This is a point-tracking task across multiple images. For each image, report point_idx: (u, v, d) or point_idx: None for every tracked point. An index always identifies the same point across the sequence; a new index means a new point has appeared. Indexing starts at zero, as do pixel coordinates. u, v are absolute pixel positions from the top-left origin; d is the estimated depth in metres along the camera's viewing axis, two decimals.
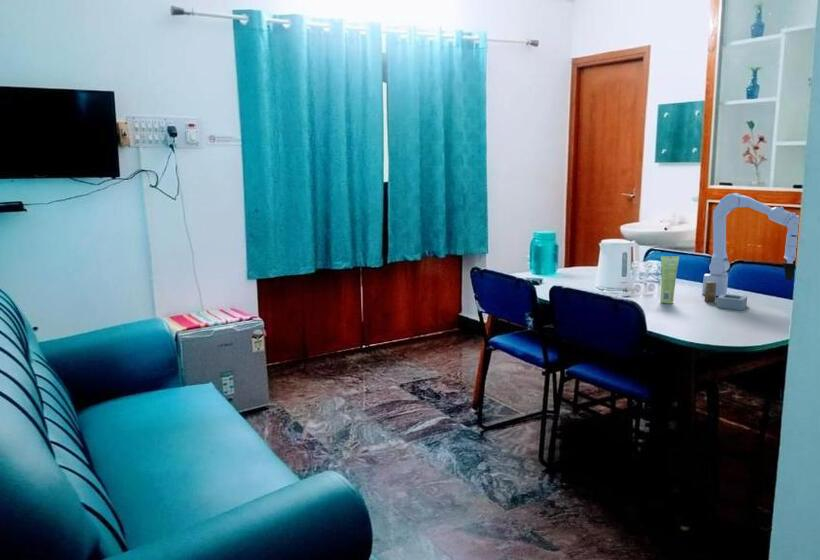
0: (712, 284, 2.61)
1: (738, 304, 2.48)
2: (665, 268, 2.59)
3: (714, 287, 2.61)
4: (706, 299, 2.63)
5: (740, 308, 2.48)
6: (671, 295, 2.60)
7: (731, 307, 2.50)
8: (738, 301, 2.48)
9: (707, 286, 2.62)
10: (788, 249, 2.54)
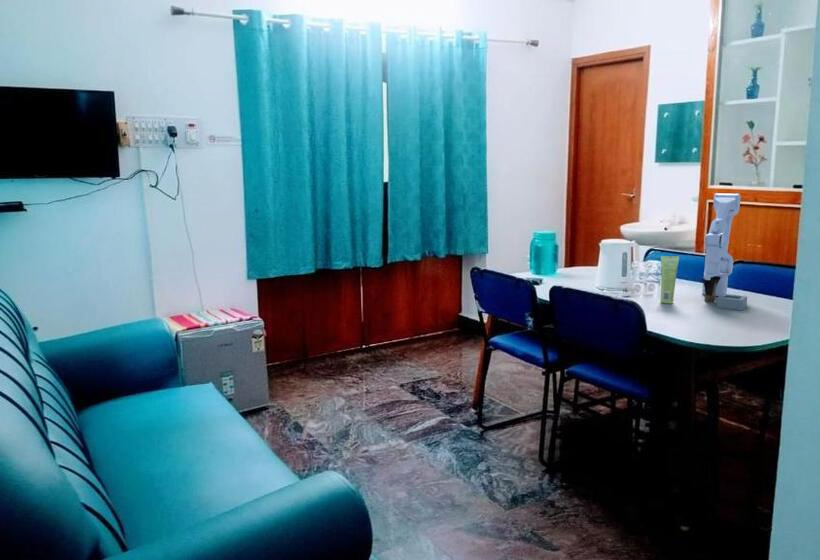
0: None
1: (738, 304, 2.48)
2: (665, 268, 2.59)
3: (714, 287, 2.61)
4: (706, 299, 2.63)
5: (740, 308, 2.48)
6: (671, 295, 2.60)
7: (731, 307, 2.50)
8: (738, 301, 2.48)
9: None
10: (707, 265, 2.60)
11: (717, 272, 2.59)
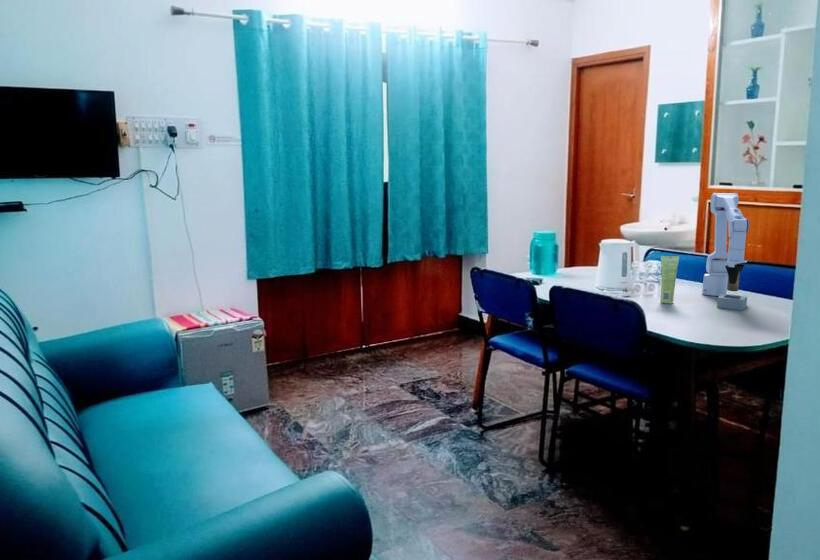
0: None
1: (738, 304, 2.48)
2: (665, 268, 2.59)
3: None
4: (729, 288, 2.52)
5: (740, 308, 2.48)
6: (671, 295, 2.60)
7: (731, 307, 2.50)
8: (738, 301, 2.48)
9: None
10: (730, 252, 2.49)
11: (741, 259, 2.48)
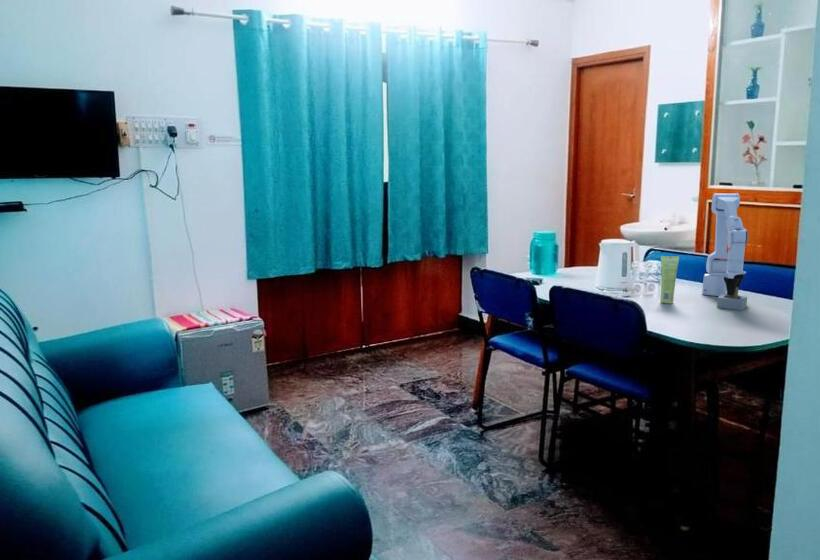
0: None
1: (738, 304, 2.48)
2: (665, 268, 2.59)
3: (736, 292, 2.51)
4: None
5: (740, 308, 2.48)
6: (671, 295, 2.60)
7: (731, 307, 2.50)
8: (738, 301, 2.48)
9: None
10: (730, 263, 2.50)
11: (740, 270, 2.49)
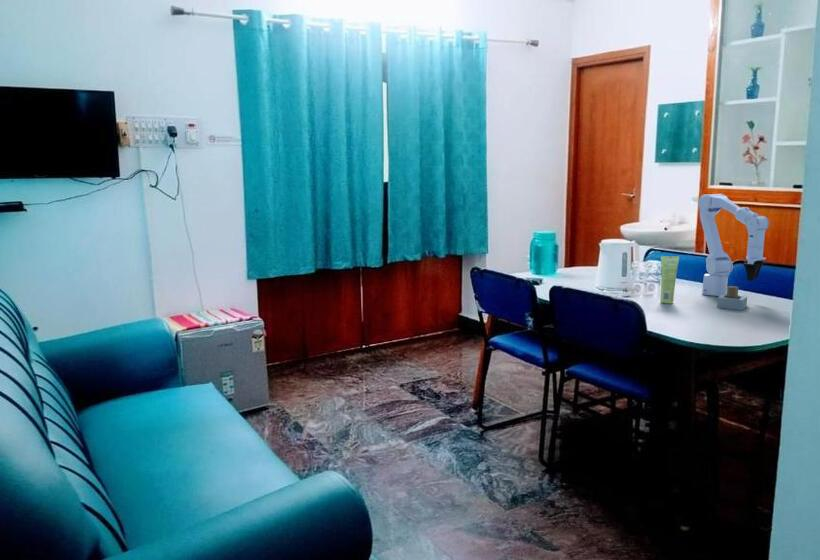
0: (734, 289, 2.51)
1: (738, 304, 2.48)
2: (665, 268, 2.59)
3: (736, 292, 2.51)
4: None
5: (740, 308, 2.48)
6: (671, 295, 2.60)
7: (731, 307, 2.50)
8: (738, 301, 2.48)
9: (728, 291, 2.52)
10: (750, 250, 2.55)
11: (760, 256, 2.54)
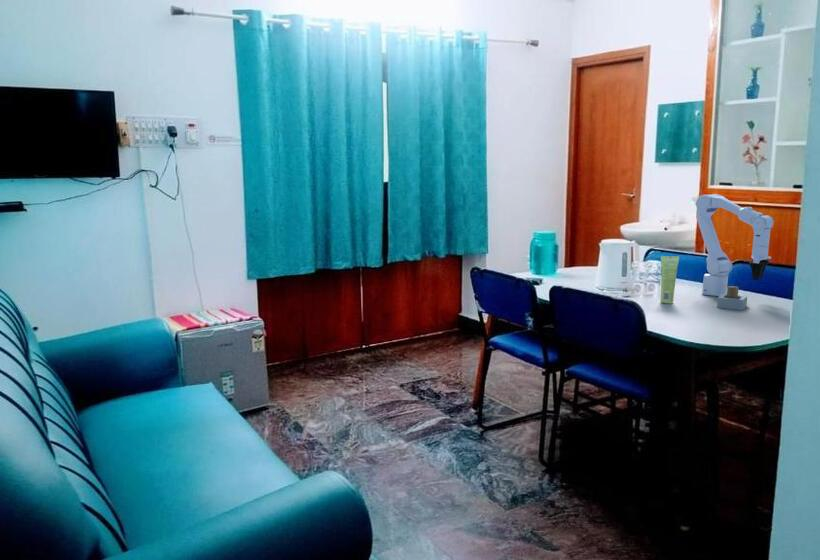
0: (734, 289, 2.51)
1: (738, 304, 2.48)
2: (665, 268, 2.59)
3: (736, 292, 2.51)
4: None
5: (740, 308, 2.48)
6: (671, 295, 2.60)
7: (731, 307, 2.50)
8: (738, 301, 2.48)
9: (728, 291, 2.52)
10: (755, 249, 2.57)
11: (765, 255, 2.56)
